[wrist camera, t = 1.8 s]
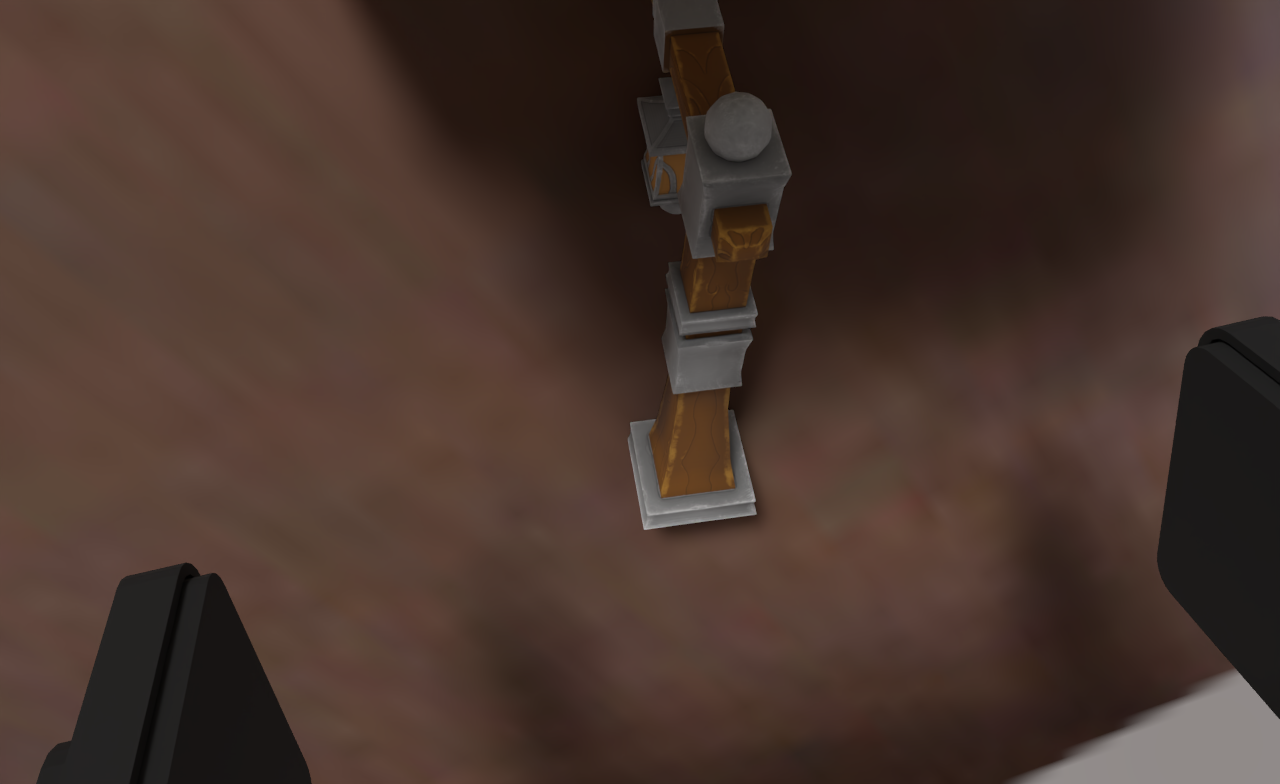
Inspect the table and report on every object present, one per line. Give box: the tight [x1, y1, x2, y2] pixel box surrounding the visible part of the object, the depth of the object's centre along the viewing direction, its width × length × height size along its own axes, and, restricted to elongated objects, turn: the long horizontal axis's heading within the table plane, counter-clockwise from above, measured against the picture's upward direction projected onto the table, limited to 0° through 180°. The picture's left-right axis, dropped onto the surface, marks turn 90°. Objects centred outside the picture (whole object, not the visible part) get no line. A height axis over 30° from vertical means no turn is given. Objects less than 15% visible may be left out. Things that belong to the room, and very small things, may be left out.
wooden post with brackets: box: [628, 0, 792, 530], centre depth 16 cm, size 2×8×4 cm, turn 3°
